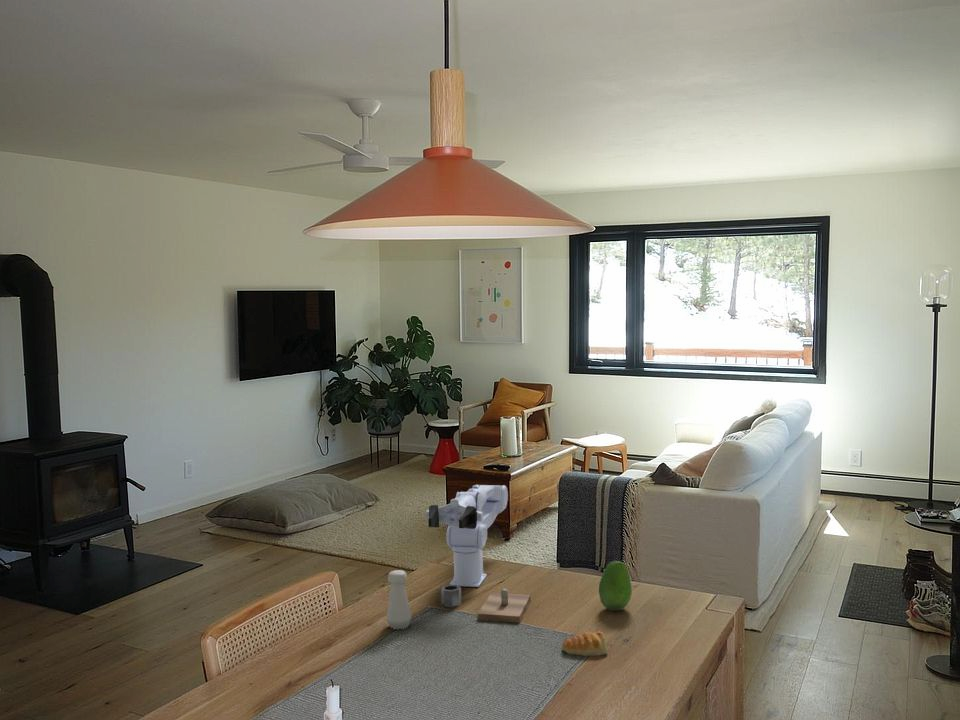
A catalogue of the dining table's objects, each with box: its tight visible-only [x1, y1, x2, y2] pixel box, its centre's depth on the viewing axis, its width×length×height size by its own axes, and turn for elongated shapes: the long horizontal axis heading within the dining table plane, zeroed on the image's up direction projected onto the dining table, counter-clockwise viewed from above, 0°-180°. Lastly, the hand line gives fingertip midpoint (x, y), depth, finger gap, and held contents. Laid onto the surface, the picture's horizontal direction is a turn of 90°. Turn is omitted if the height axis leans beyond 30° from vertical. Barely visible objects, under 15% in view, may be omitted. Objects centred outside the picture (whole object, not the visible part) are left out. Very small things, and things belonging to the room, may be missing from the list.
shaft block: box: [477, 588, 531, 624], centre depth 198 cm, size 14×10×5 cm
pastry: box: [561, 630, 609, 657], centre depth 175 cm, size 9×7×4 cm
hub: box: [440, 584, 462, 608], centre depth 203 cm, size 5×5×4 cm
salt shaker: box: [385, 569, 412, 630], centre depth 190 cm, size 6×6×13 cm
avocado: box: [598, 560, 632, 612], centre depth 196 cm, size 8×8×12 cm
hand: (445, 523), depth 199 cm, fingers open, 7 cm apart
